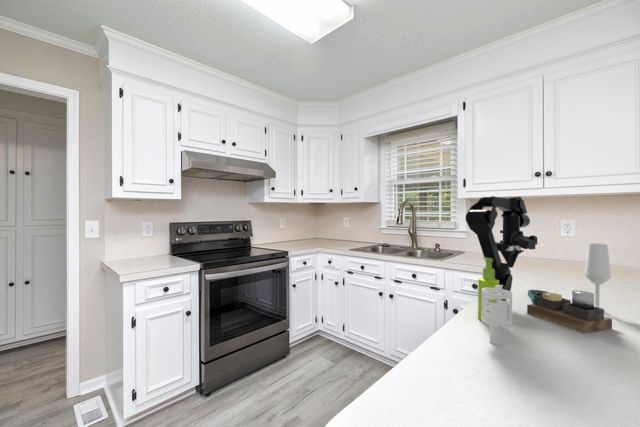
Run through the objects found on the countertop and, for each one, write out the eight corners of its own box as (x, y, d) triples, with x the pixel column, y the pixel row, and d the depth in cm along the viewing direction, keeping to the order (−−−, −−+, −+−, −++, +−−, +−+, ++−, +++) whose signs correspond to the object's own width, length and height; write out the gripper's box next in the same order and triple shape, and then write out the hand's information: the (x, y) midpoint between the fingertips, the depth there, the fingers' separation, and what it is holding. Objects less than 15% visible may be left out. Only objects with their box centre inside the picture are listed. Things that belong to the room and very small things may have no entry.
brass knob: (554, 309, 95) (554, 297, 95) (539, 304, 100) (539, 293, 100) (565, 308, 96) (565, 296, 96) (549, 303, 101) (549, 292, 101)
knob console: (583, 333, 84) (584, 312, 84) (527, 313, 100) (527, 296, 100) (611, 328, 87) (612, 308, 87) (552, 310, 104) (552, 293, 104)
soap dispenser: (495, 316, 97) (496, 257, 97) (501, 324, 91) (501, 260, 90) (476, 314, 99) (476, 256, 99) (480, 321, 93) (480, 259, 92)
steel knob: (586, 308, 86) (586, 295, 86) (568, 303, 91) (568, 291, 91) (598, 307, 88) (598, 294, 88) (579, 302, 93) (579, 289, 93)
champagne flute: (589, 307, 107) (590, 242, 106) (614, 313, 101) (615, 244, 100) (580, 310, 104) (581, 243, 104) (605, 316, 98) (605, 245, 98)
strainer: (514, 342, 78) (515, 286, 78) (508, 351, 73) (508, 291, 73) (485, 334, 83) (485, 282, 83) (477, 342, 78) (478, 286, 78)
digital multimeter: (549, 297, 120) (549, 290, 120) (557, 308, 107) (557, 300, 107) (527, 295, 124) (527, 288, 124) (532, 305, 111) (532, 297, 111)
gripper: (511, 229, 105) (511, 272, 105) (549, 229, 110) (549, 270, 110) (486, 228, 116) (485, 267, 116) (521, 227, 121) (521, 264, 121)
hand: (510, 267), depth 115 cm, fingers closed
